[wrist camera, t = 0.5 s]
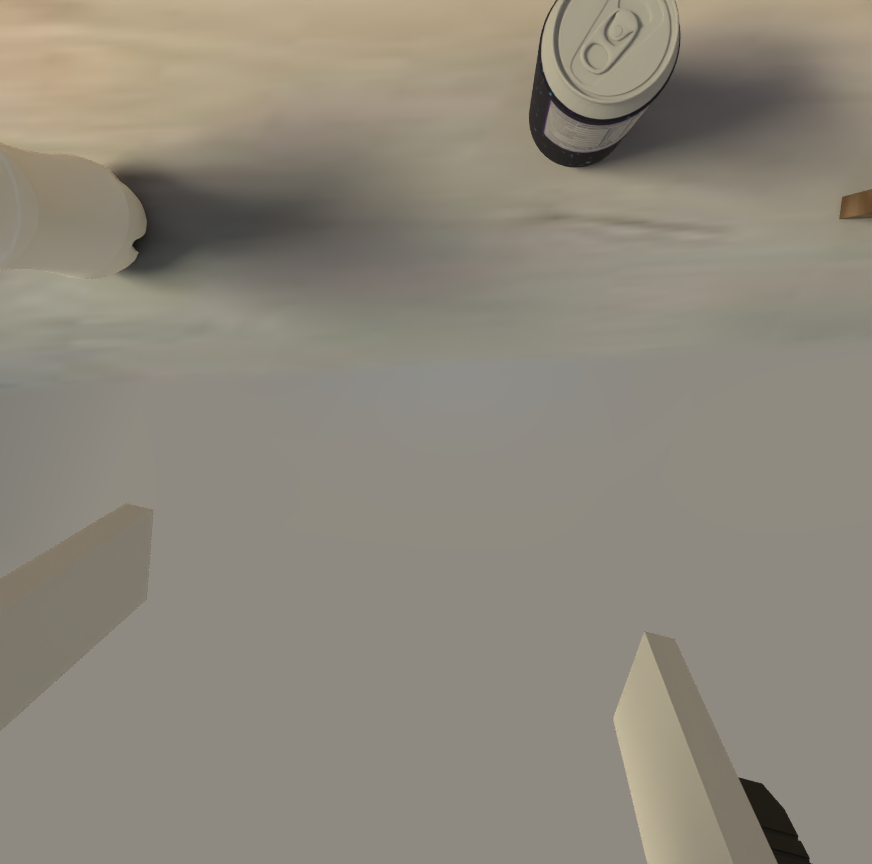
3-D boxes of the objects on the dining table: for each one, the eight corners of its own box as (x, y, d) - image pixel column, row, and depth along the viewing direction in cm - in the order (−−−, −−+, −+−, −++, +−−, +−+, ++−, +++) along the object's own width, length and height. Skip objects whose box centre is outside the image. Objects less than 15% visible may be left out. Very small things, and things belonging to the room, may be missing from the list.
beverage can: (647, 111, 34) (722, 20, 22) (577, 191, 35) (613, 145, 24) (576, 41, 33) (615, -88, 22) (508, 125, 35) (511, 45, 23)
